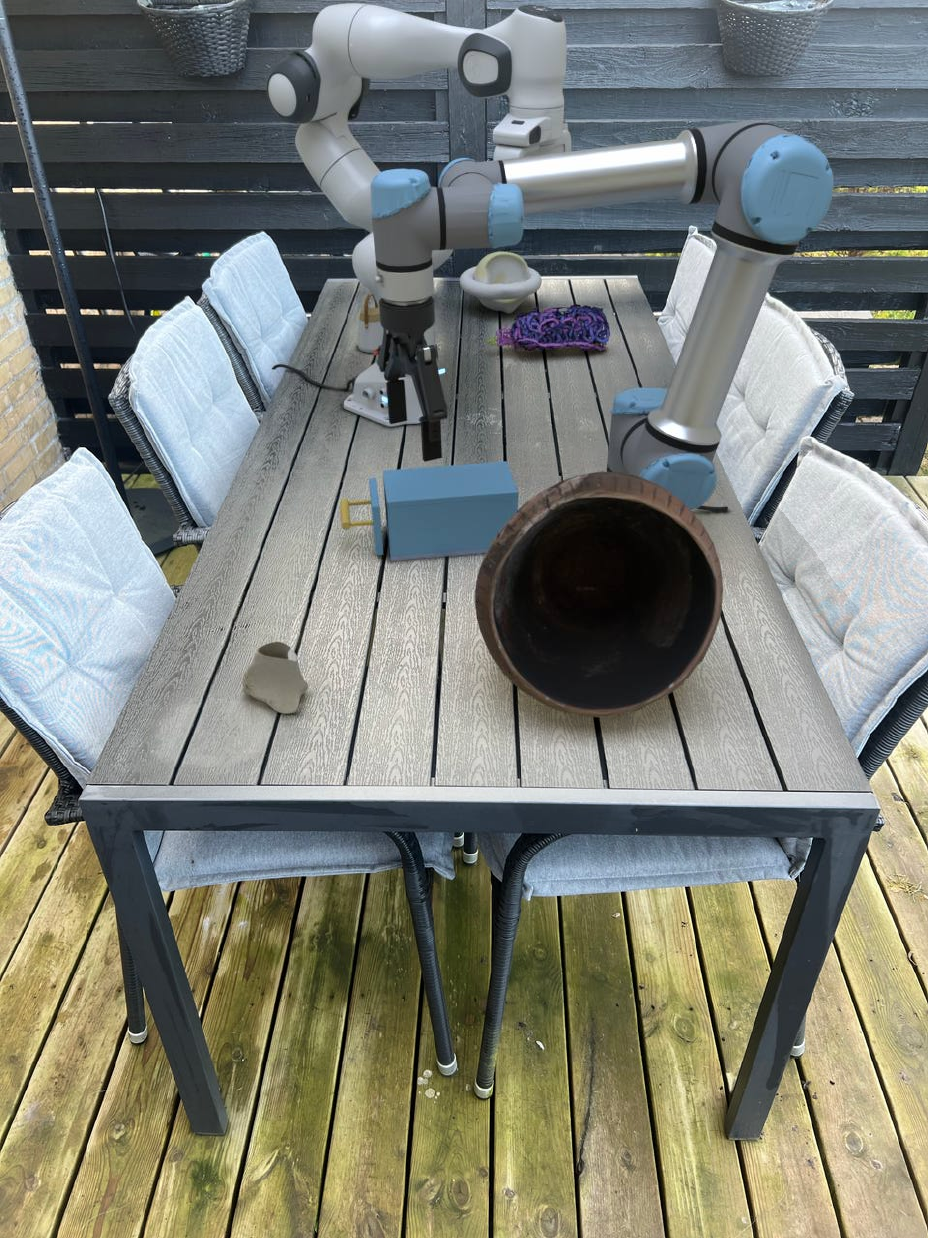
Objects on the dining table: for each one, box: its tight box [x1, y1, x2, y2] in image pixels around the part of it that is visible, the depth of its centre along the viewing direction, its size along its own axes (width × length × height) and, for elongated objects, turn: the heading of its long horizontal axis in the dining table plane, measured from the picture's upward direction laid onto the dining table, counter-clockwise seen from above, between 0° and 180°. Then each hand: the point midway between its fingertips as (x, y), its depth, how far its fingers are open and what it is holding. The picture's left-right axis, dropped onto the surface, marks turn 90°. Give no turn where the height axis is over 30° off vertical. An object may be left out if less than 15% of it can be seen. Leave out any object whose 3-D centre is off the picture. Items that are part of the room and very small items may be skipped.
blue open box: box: [382, 460, 519, 562], centre depth 158 cm, size 22×11×11 cm, turn 98°
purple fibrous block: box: [486, 303, 611, 354], centre depth 226 cm, size 13×11×30 cm
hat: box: [459, 251, 543, 314], centre depth 248 cm, size 25×22×15 cm
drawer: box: [339, 477, 388, 556], centre depth 157 cm, size 25×10×9 cm, turn 98°
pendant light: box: [356, 233, 382, 354], centre depth 223 cm, size 8×8×30 cm
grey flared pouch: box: [241, 641, 309, 715], centre depth 126 cm, size 9×8×10 cm
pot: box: [474, 470, 724, 718], centre depth 130 cm, size 32×32×30 cm
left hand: (532, 214), depth 160 cm, fingers open, 8 cm apart
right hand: (414, 439), depth 139 cm, fingers open, 13 cm apart
